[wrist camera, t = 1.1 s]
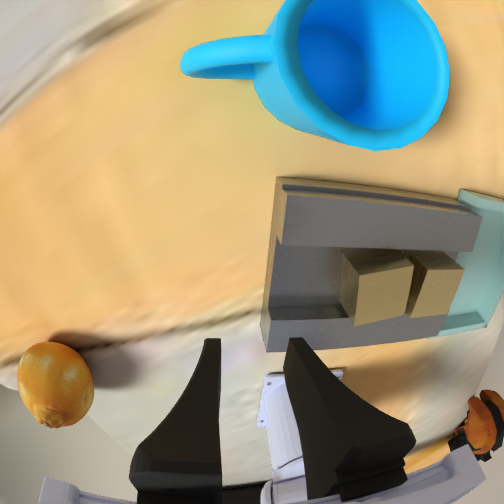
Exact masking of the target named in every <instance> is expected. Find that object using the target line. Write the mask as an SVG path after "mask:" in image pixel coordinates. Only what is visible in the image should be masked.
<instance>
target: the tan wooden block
mask: <svg viewBox="0 0 504 504" xmlns="http://www.w3.org/2000/svg"><path fill="white" fill-rule="evenodd" d="M405 258H407V259H408V260H409V261H410V262H411V263H412V264H413V265H414V269H413V275H412V280H411V285H410V290H409V295H408V300H407V305H406V309H405V313H406V314H407V315H408V317H409V318H417V317H426V316H435V315H443V314H447V313H448V311H449V308H450V306H451V304H452V301H453V299H454V297H455V294H456V292H457V289H458V287H459V284H460V282H461V279H462V276H463V274H464V271H465V269H464V268H463V267H461V266H460V265H459V264H458V263H457V262H455V261H454V260H453V259H452V258H451V257H449V256H448V255H447V254H446V253H444V252H439V251H412V250H406V254H405Z"/></svg>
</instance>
